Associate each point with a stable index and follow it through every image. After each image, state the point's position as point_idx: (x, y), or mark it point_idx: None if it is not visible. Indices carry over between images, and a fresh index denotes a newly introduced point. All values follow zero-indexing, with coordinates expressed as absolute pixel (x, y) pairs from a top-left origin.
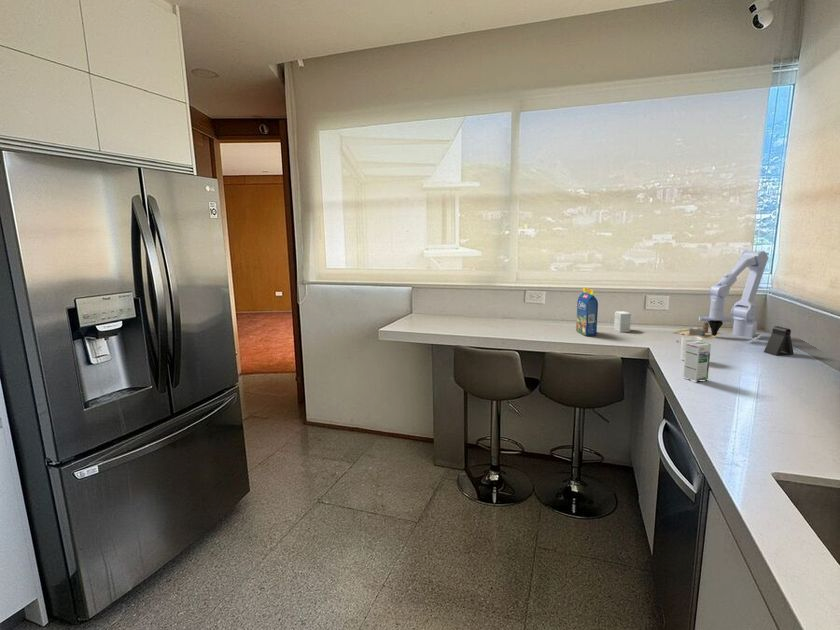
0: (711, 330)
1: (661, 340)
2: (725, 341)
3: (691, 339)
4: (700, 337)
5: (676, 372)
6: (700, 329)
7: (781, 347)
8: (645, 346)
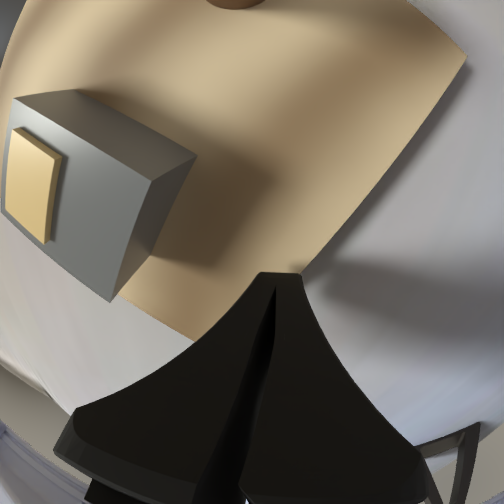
0: (232, 314)
1: (15, 318)
2: (363, 339)
3: None
4: (139, 307)
5: None
6: (78, 224)
7: None
8: (32, 376)
